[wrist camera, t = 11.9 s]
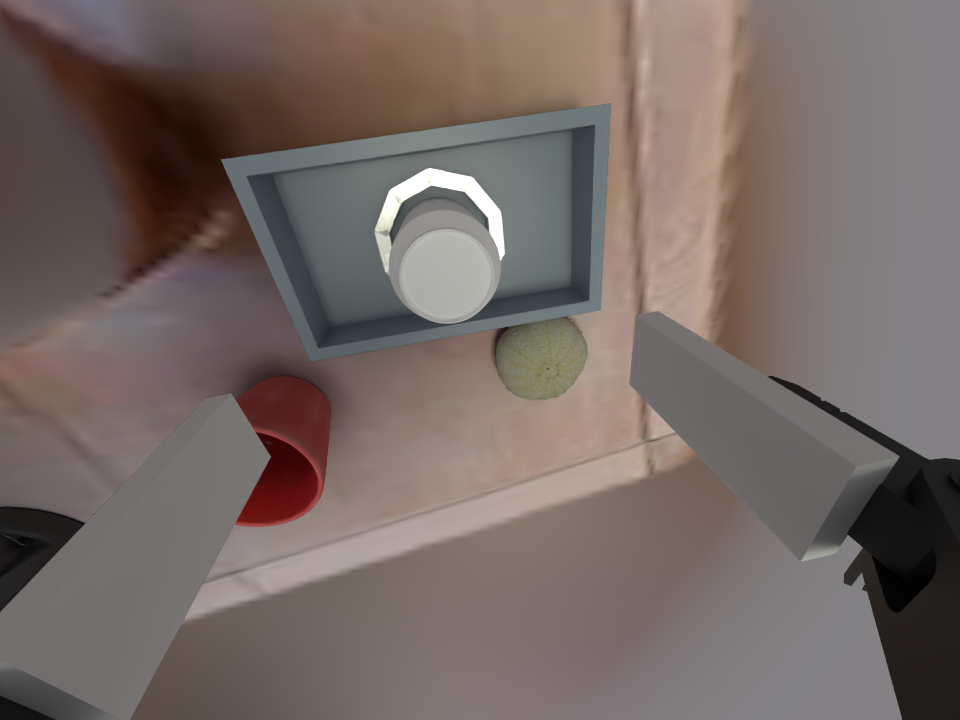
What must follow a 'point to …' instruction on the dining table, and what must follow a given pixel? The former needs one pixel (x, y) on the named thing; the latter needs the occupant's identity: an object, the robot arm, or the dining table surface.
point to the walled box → (393, 160)
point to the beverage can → (444, 262)
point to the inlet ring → (441, 180)
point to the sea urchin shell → (541, 358)
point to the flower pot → (287, 449)
